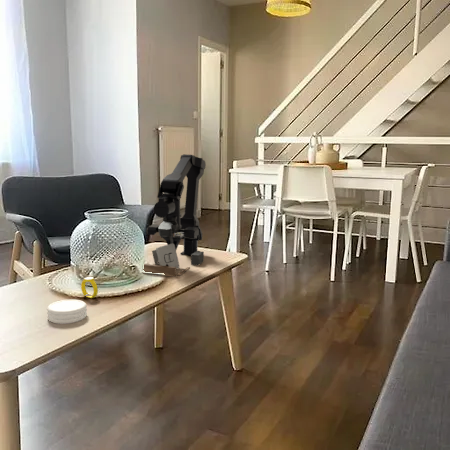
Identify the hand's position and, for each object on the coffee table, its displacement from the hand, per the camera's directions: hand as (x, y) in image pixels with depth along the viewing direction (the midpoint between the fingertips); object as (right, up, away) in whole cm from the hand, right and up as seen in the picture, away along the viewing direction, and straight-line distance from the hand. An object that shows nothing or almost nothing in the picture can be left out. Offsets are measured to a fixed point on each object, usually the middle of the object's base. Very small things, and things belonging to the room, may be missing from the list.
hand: (173, 253), depth 181 cm
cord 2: (+9, -4, +5) cm, 11 cm away
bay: (-2, -6, -5) cm, 8 cm away
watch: (-21, -11, -36) cm, 43 cm away
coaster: (-23, -14, -52) cm, 58 cm away
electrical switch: (-2, -6, -5) cm, 8 cm away
